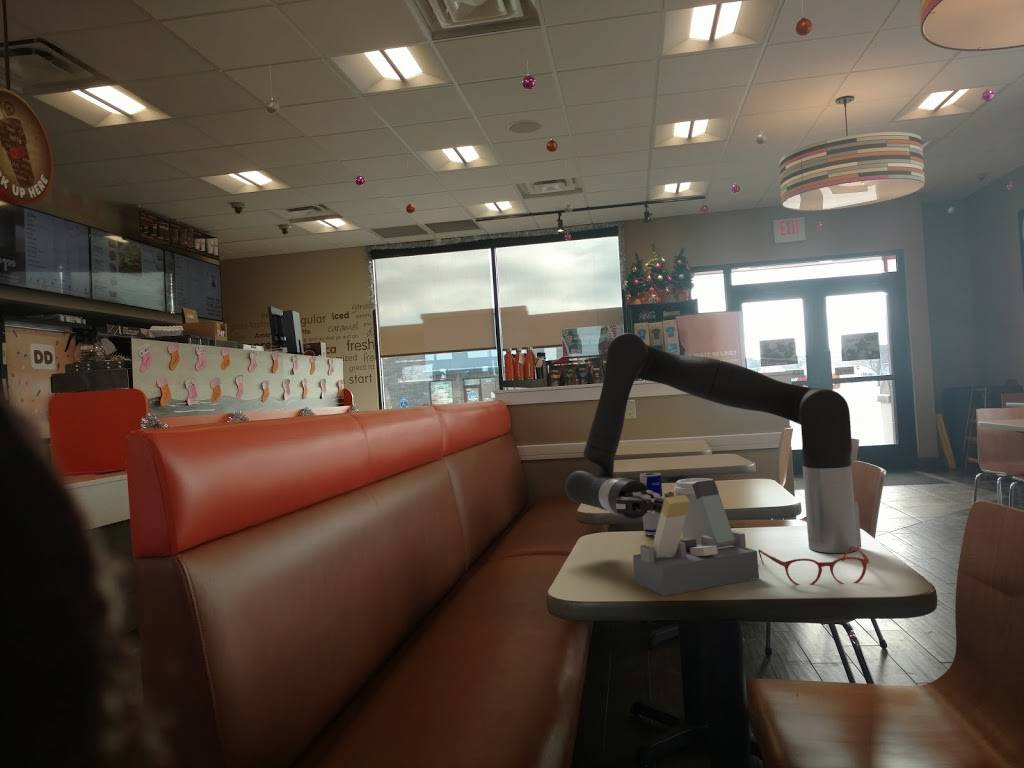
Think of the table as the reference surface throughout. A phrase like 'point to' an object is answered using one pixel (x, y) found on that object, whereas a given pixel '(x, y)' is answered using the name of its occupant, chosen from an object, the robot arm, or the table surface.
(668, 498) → the white and yellow lever
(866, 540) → the table surface
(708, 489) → the teal lever
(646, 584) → the console
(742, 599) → the table surface
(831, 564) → the red eyeglasses
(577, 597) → the table surface
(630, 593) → the table surface
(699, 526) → the coffee cup
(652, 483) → the beverage can
